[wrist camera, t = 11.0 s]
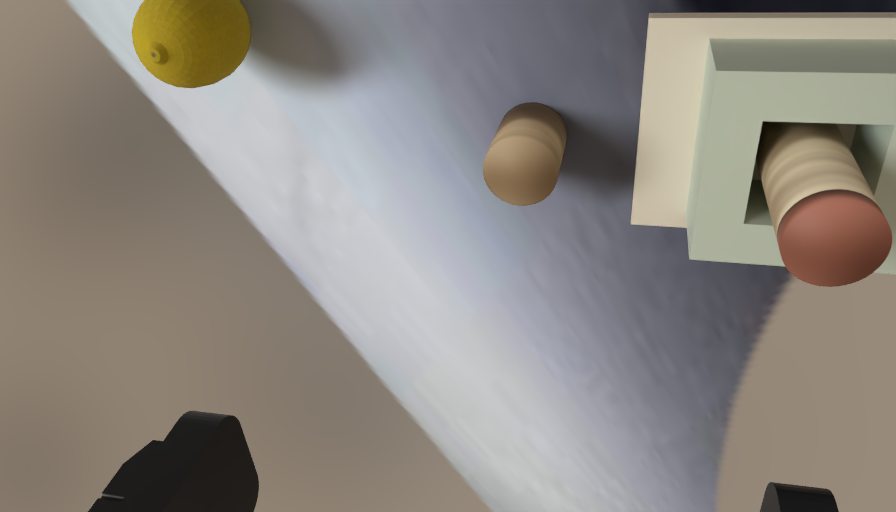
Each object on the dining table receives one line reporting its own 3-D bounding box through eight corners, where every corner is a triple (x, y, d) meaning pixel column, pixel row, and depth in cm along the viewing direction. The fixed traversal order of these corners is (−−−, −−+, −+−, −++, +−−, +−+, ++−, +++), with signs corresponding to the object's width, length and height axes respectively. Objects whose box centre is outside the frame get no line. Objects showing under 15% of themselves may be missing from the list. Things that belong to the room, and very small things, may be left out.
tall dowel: (758, 97, 37) (790, 198, 28) (843, 99, 36) (904, 204, 27) (746, 168, 39) (772, 282, 30) (826, 171, 38) (877, 290, 29)
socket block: (648, 12, 37) (648, 47, 32) (1006, 11, 33) (1066, 51, 28) (631, 215, 43) (628, 270, 38) (928, 233, 40) (967, 296, 35)
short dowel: (498, 101, 41) (481, 135, 37) (567, 103, 40) (558, 138, 36) (499, 164, 44) (484, 203, 39) (566, 167, 43) (557, 207, 39)
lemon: (291, 19, 42) (224, 63, 35) (238, 78, 44) (168, 128, 38) (219, -58, 40) (136, -27, 34) (169, 8, 43) (84, 48, 37)
